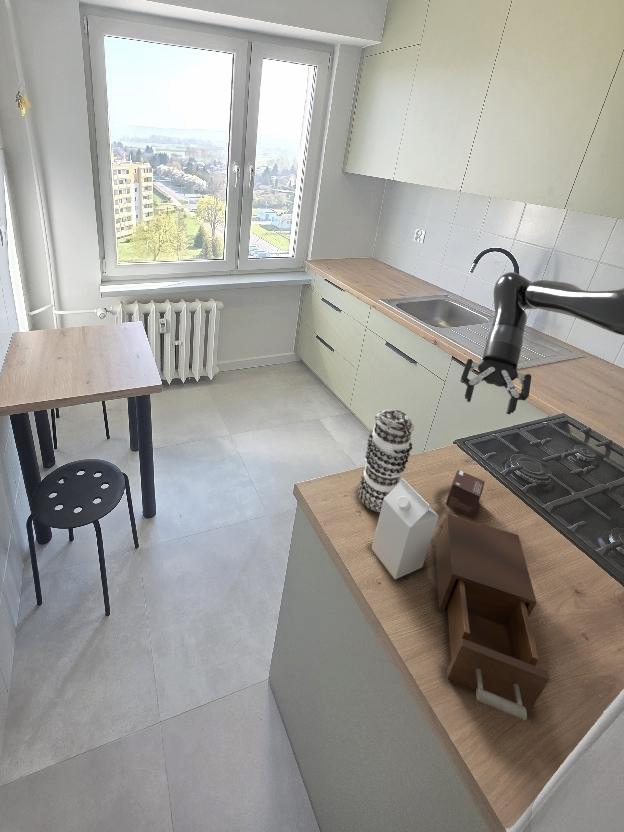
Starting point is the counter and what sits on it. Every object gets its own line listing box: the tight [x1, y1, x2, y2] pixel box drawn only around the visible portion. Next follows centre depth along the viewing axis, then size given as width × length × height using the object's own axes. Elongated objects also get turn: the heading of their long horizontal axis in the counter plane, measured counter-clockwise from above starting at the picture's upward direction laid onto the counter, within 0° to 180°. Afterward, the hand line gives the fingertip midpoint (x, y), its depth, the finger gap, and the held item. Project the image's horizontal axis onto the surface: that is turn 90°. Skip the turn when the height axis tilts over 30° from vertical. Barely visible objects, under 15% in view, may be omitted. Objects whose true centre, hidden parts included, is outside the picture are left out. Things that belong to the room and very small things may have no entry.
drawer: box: [446, 578, 551, 721], centre depth 66 cm, size 17×11×9 cm
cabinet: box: [435, 513, 537, 618], centre depth 78 cm, size 14×13×11 cm
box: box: [445, 469, 485, 518], centre depth 97 cm, size 6×6×7 cm
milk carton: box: [371, 477, 440, 580], centre depth 81 cm, size 7×7×19 cm
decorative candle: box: [357, 408, 416, 513], centre depth 94 cm, size 9×9×25 cm
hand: (488, 407), depth 100 cm, fingers open, 8 cm apart
